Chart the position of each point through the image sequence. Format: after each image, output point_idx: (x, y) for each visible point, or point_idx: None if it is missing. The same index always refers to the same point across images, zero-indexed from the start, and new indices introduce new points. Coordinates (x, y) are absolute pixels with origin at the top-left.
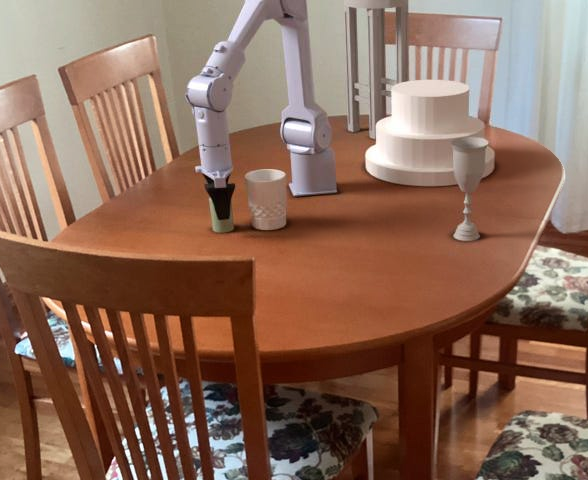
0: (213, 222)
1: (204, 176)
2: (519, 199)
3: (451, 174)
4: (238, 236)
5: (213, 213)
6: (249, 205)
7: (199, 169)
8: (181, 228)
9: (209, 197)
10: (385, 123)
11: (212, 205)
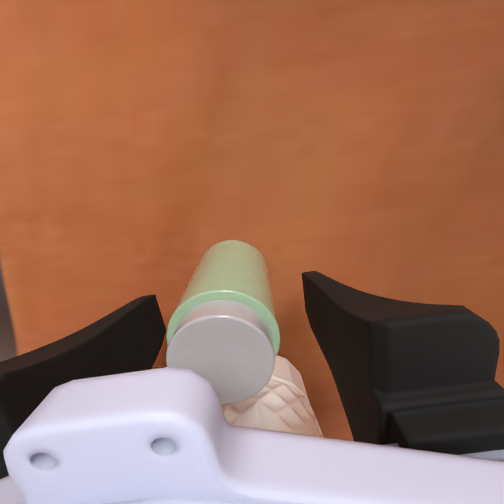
0: (203, 259)
1: (361, 324)
2: None
3: None
4: (168, 319)
5: (192, 278)
6: (249, 402)
7: (17, 479)
8: (254, 120)
9: (226, 293)
10: None
11: (184, 295)
